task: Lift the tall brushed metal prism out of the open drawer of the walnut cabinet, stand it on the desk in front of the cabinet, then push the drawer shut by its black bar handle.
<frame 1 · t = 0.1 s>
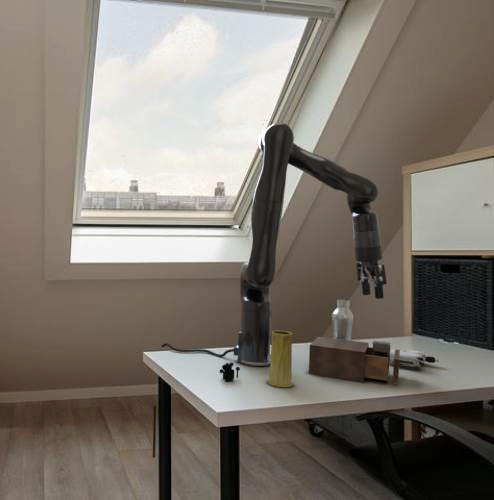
hand: (372, 296, 149), 22 cm above the table, tool pointing down, fingers open, 8 cm apart
vase: (279, 384, 130), on the table
cabinet: (338, 372, 143), on the table
tall brushed metal prism: (380, 371, 138), point 2 cm above the table, touching drawer
robot toy: (408, 365, 154), on the table
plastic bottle: (341, 361, 157), on the table
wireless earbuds: (227, 380, 133), on the table
drawer: (381, 363, 138), point 4 cm above the table, slide at 7.0 cm, touching tall brushed metal prism
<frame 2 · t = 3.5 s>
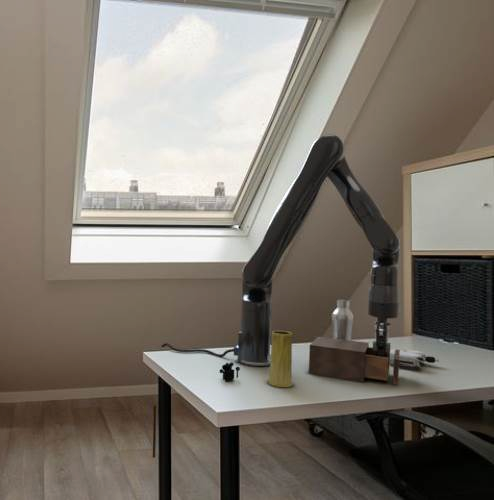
hand: (381, 359, 138), 6 cm above the table, tool pointing down, fingers closed on tall brushed metal prism, 2 cm apart
tall brushed metal prism: (380, 371, 138), point 2 cm above the table, touching drawer, gripper
everything else where it was.
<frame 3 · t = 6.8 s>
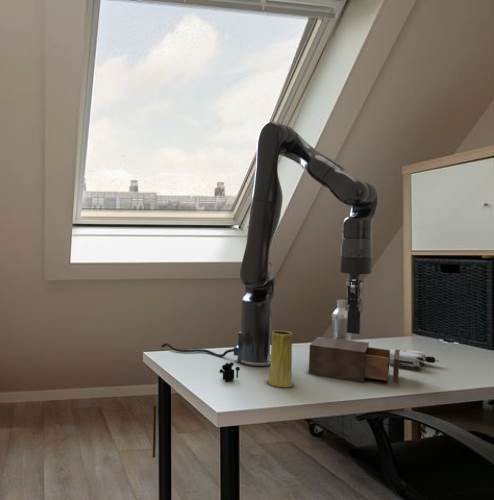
hand: (353, 319, 128), 19 cm above the table, tool pointing down, fingers closed on tall brushed metal prism, 2 cm apart
tall brushed metal prism: (353, 332, 128), point 15 cm above the table, touching gripper
drawer: (381, 363, 138), point 4 cm above the table, slide at 7.0 cm
everything else where it was.
when the fingers open (4 cm above the table, at t = 10.5 s): tall brushed metal prism stays where it is, on the table.
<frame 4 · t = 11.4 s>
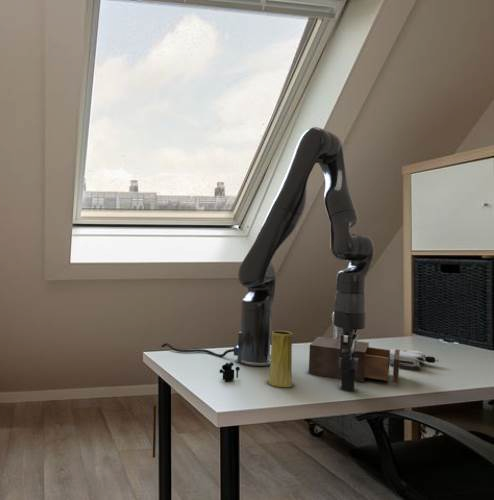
hand: (347, 369, 127), 5 cm above the table, tool pointing down, fingers open, 8 cm apart
tall brushed metal prism: (347, 389, 127), on the table
everything else where it was.
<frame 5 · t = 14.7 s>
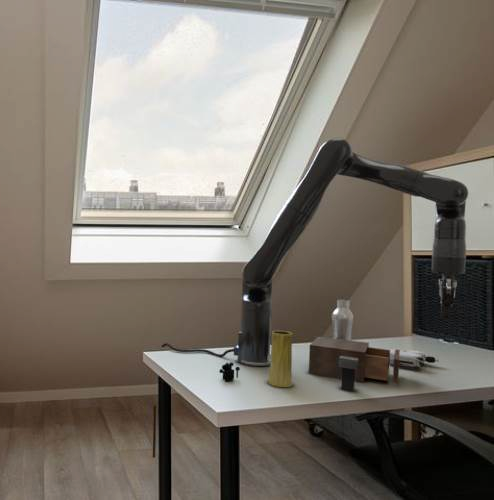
hand: (445, 319, 129), 19 cm above the table, tool pointing down, fingers closed
nothing on the table moved.
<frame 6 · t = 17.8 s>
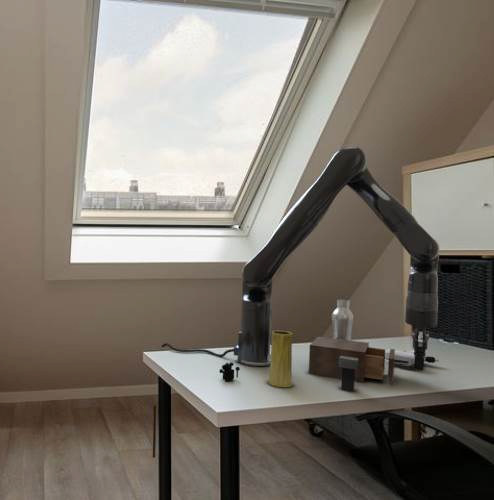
hand: (418, 369, 133), 4 cm above the table, tool pointing down, fingers closed
drawer: (376, 363, 138), point 4 cm above the table, slide at 5.8 cm
everything else where it was.
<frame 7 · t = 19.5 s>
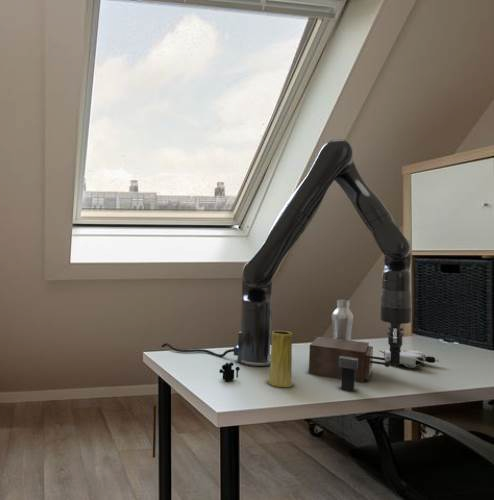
hand: (395, 365, 136), 4 cm above the table, tool pointing down, fingers closed
drawer: (354, 360, 141), point 4 cm above the table, slide at 0.0 cm, touching cabinet, gripper
everything else where it was.
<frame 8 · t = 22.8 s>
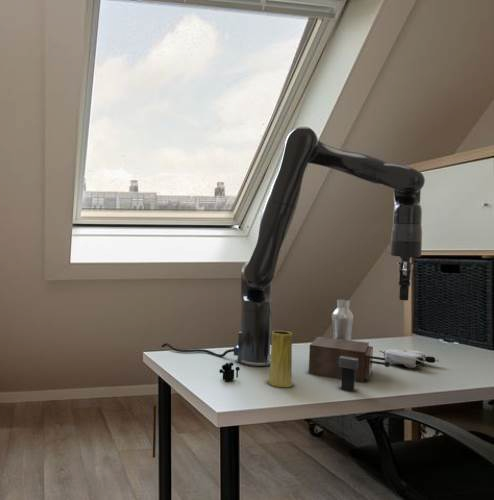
hand: (403, 299, 137), 23 cm above the table, tool pointing down, fingers closed
drawer: (354, 360, 141), point 4 cm above the table, slide at 0.0 cm, touching cabinet
everything else where it was.
at the end: tall brushed metal prism inside the target area (0.2 cm from its centre), on the table; tall brushed metal prism tilted 0°; drawer slide at 0.0 cm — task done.
